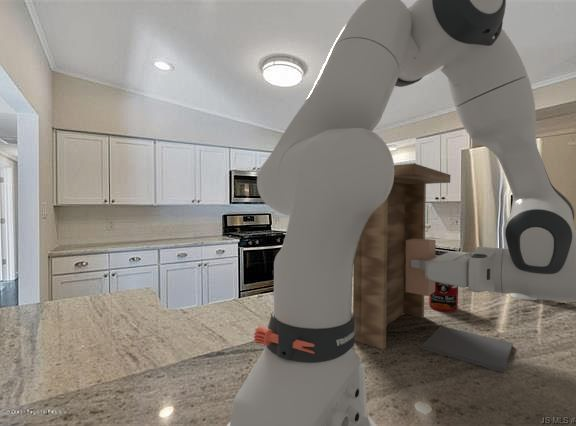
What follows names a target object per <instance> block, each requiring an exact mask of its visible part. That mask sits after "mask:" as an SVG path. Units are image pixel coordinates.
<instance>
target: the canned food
mask: <svg viewBox="0 0 576 426" xmlns="http://www.w3.org/2000/svg"><path fill="white" fill-rule="evenodd" d="M428 305H429V307H430V308H431V309H433V310H435V311H438V312H445V313H451V312H456V311H457V310H458V307H459V286H453V285H448V284H444V283H439V282H435V292H433V293H432V294H431V295H429V296H428Z"/></svg>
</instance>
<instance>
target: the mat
mask: <svg viewBox="0 0 576 426" xmlns="http://www.w3.org/2000/svg"><path fill="white" fill-rule="evenodd" d="M513 344H514V343H513V342H510V341H507V340H502V339H498V338H493V337H490V336H485V335H481V334H476V333H473V332H468V331H465V330H460V329H456V328H452V327H448V326H443V325H441V326H440V327H439V328H438V329H437V330H436V331H435V332H434V333H433V334H432V335H431V336H430V337H429V338H428V339H426V341H425V342H424V343H422V349H423V350H424V351H429V352H432V353H436V354H439V355H442V356H446V357H449V358H453V359H457V360H460V361H462V362H466V363H469V364H472V365H475V366H479V367H483V368H487V369H489V370H493V371H497V372H499V373H503V374H505V371H506V367H507V365H508V362H509V359H510V356H511V353H512V349H513V346H514V345H513Z"/></svg>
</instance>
